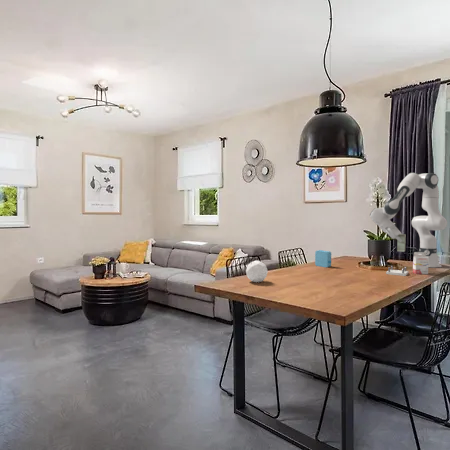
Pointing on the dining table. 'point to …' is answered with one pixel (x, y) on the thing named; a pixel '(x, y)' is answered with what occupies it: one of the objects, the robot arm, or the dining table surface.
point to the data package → (323, 258)
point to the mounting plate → (397, 272)
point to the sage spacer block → (401, 243)
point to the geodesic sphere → (256, 271)
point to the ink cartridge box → (420, 263)
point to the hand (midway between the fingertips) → (402, 241)
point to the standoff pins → (392, 269)
